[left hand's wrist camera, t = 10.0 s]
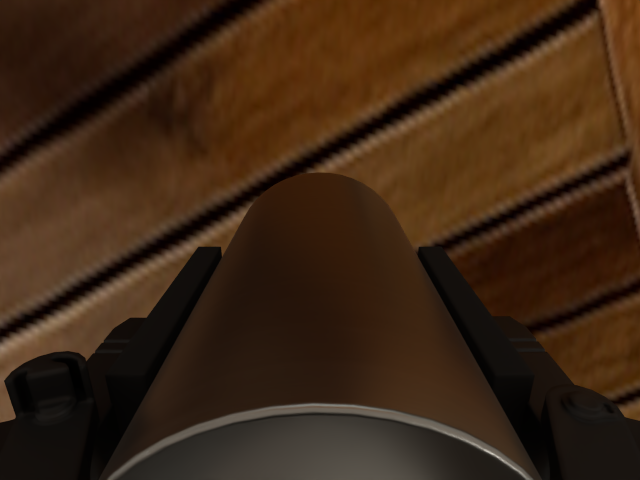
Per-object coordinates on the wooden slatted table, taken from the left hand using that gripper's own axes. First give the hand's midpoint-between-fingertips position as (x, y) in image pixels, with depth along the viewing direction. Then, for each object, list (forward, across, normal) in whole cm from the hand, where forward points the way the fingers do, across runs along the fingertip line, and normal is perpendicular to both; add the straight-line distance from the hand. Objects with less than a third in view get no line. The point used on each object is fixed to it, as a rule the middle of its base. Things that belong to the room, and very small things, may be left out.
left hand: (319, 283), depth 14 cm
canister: (+2, 0, 0) cm, 2 cm away
